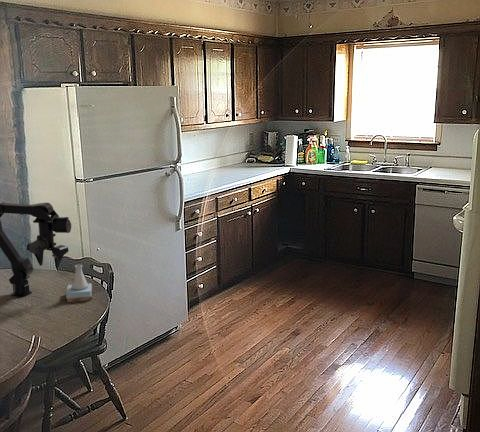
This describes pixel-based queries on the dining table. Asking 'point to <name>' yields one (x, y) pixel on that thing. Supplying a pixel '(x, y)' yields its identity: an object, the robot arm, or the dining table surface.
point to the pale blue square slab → (79, 292)
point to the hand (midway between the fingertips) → (48, 266)
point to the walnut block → (79, 298)
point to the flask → (79, 279)
